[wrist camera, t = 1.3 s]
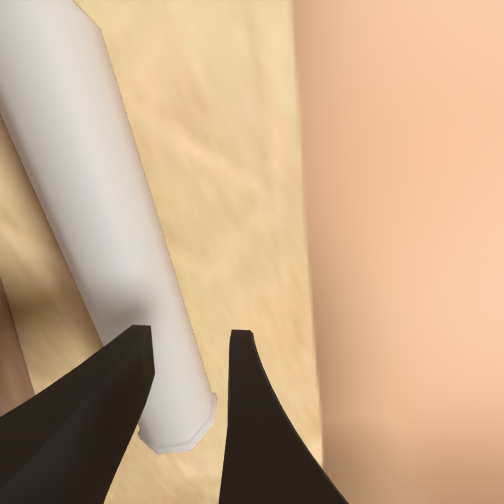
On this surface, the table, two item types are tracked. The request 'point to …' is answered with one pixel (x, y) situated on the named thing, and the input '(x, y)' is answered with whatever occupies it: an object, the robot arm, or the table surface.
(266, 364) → the table surface
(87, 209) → the tube
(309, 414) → the table surface
